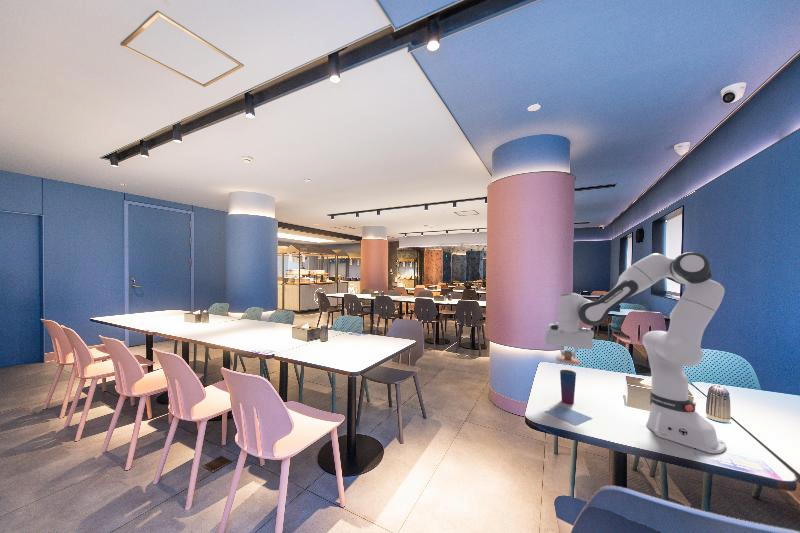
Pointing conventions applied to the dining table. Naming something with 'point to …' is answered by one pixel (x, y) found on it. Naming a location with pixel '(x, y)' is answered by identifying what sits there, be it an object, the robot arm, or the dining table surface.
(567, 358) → the lid
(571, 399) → the cup
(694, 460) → the dining table surface
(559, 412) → the mat
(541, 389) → the dining table surface
